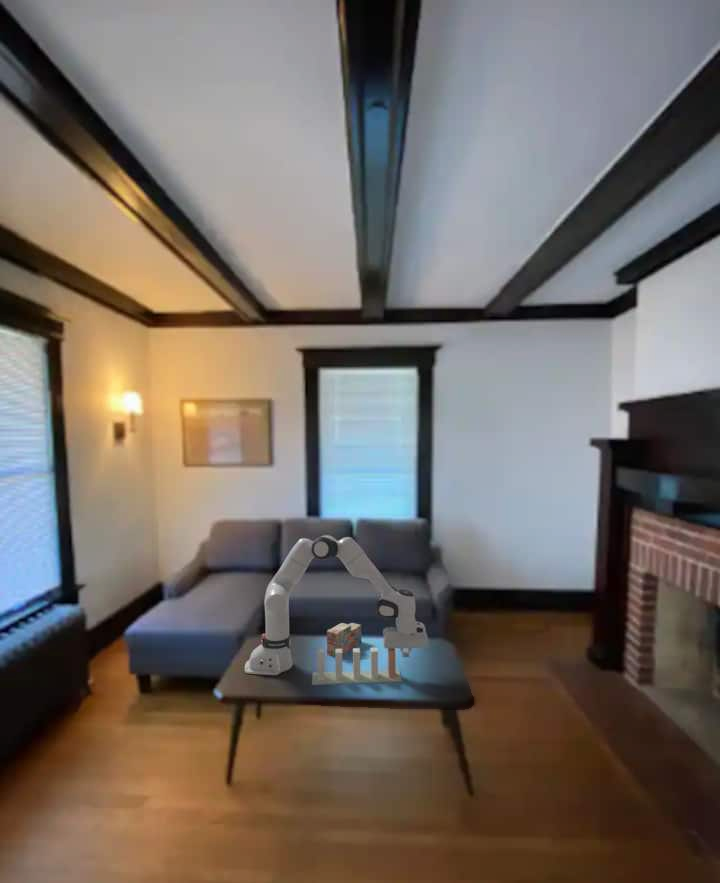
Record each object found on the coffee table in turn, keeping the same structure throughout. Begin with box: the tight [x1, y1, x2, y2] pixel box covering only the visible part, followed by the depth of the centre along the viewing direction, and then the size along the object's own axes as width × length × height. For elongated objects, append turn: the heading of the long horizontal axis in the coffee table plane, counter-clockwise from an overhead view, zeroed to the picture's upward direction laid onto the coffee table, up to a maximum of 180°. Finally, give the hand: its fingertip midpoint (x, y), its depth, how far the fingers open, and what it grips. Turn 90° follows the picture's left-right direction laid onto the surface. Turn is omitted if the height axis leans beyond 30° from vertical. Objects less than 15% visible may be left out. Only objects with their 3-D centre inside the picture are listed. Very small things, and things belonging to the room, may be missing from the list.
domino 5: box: [387, 648, 397, 678], centre depth 217 cm, size 3×4×12 cm
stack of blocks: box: [326, 622, 362, 658], centre depth 245 cm, size 21×6×12 cm, turn 145°
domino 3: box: [352, 647, 361, 679], centre depth 216 cm, size 3×4×12 cm
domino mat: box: [311, 669, 403, 686], centre depth 216 cm, size 40×10×1 cm, turn 93°
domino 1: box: [317, 648, 326, 680], centre depth 215 cm, size 3×4×12 cm
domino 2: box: [334, 649, 343, 680], centre depth 215 cm, size 3×4×12 cm
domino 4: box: [370, 647, 379, 678], centre depth 216 cm, size 3×4×12 cm
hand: (405, 656), depth 217 cm, fingers closed
